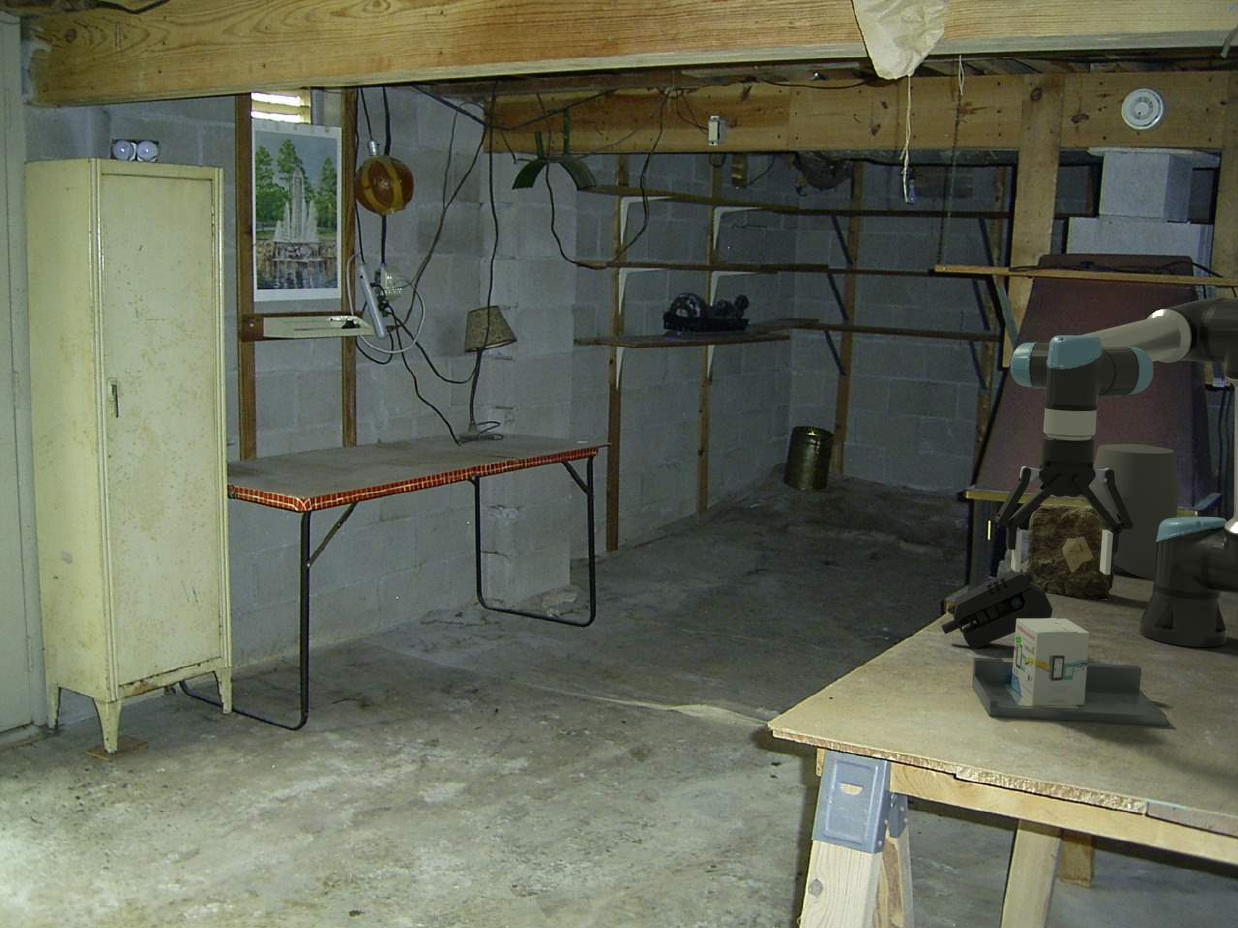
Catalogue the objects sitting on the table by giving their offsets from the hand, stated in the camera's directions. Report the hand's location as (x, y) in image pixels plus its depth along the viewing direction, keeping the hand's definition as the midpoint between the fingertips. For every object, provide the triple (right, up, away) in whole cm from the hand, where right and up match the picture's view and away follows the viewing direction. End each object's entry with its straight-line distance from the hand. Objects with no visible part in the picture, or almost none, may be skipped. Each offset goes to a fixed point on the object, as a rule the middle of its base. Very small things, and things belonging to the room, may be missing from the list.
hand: (1060, 571), depth 190 cm
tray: (+1, -21, +1) cm, 21 cm away
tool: (+1, -17, +33) cm, 37 cm away
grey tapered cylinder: (+53, -8, +101) cm, 114 cm away
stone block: (+29, -12, +75) cm, 81 cm away
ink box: (-2, -20, +1) cm, 20 cm away
